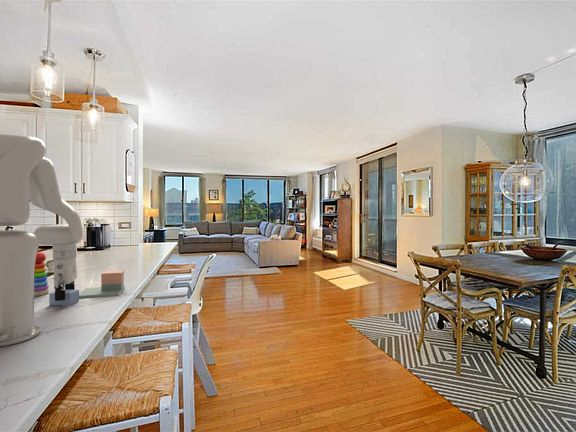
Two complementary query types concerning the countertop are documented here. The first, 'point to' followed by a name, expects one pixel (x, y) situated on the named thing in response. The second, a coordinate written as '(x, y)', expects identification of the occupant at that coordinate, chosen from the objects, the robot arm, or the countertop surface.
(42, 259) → the stacking toy
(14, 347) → the countertop surface
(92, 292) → the build plate
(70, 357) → the countertop surface
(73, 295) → the slate brick
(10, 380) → the countertop surface
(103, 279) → the terracotta brick
